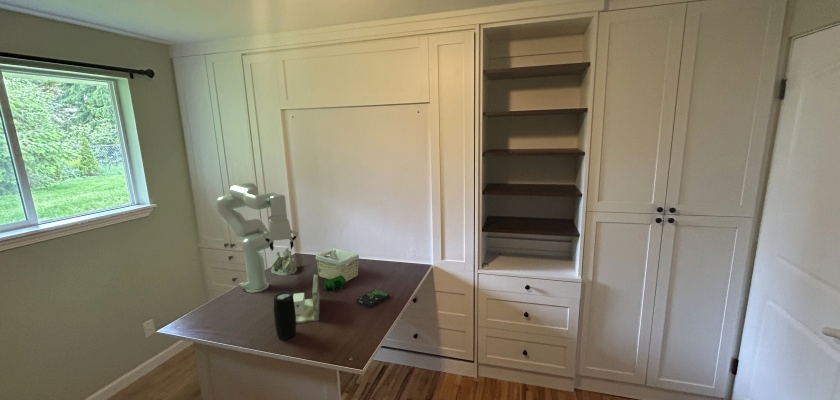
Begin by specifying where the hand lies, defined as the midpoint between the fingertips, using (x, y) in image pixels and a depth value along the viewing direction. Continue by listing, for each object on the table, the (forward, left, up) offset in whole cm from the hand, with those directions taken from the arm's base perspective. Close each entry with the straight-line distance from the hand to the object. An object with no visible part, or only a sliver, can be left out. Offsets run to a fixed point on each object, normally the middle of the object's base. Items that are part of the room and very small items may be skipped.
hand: (282, 249), depth 180 cm
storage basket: (+29, +22, -29) cm, 46 cm away
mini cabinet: (+8, -18, -27) cm, 34 cm away
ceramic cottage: (-6, +41, -29) cm, 50 cm away
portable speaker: (+4, -38, -28) cm, 48 cm away
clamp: (+26, +4, -29) cm, 39 cm away
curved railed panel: (+8, -18, -28) cm, 34 cm away
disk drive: (+46, -16, -29) cm, 57 cm away
